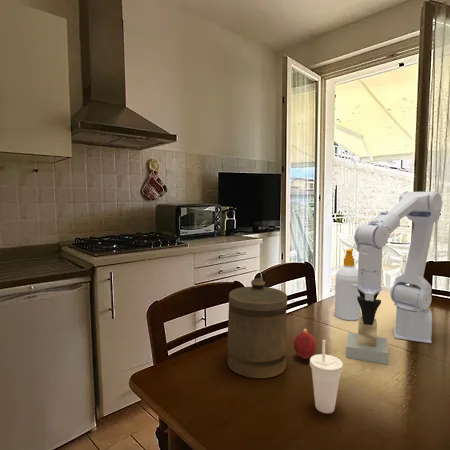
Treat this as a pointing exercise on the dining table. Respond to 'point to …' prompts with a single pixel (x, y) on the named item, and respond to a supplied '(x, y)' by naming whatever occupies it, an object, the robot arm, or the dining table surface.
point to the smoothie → (325, 380)
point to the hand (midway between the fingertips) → (367, 319)
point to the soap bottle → (347, 290)
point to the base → (367, 350)
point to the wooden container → (257, 330)
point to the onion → (305, 344)
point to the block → (367, 333)
